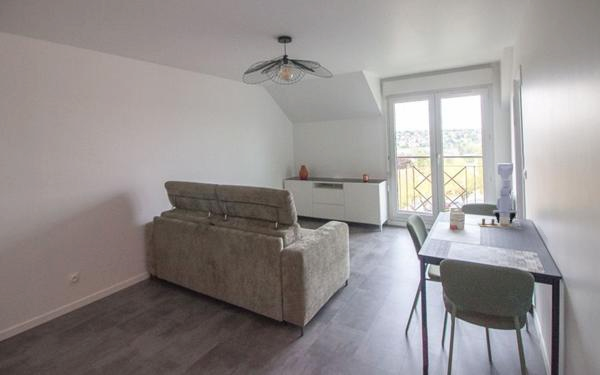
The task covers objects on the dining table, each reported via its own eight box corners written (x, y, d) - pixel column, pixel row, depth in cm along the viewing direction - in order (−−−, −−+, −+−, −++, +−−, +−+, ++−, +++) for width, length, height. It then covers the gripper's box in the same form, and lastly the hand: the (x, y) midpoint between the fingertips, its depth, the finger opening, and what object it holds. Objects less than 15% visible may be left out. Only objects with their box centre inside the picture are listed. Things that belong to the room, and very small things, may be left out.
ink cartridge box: (452, 229, 230) (452, 209, 229) (449, 227, 235) (449, 207, 233) (464, 229, 230) (465, 209, 228) (461, 227, 234) (462, 207, 233)
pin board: (477, 223, 243) (477, 217, 243) (495, 224, 239) (496, 217, 239) (480, 227, 234) (480, 220, 233) (499, 227, 230) (499, 220, 229)
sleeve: (498, 224, 238) (498, 217, 237) (504, 223, 239) (505, 217, 238) (503, 225, 233) (504, 219, 232) (510, 225, 234) (510, 218, 233)
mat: (495, 223, 242) (495, 222, 242) (509, 223, 239) (509, 223, 239) (498, 226, 234) (498, 225, 234) (513, 226, 231) (513, 226, 231)
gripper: (495, 205, 233) (494, 224, 234) (518, 205, 228) (517, 224, 230) (492, 203, 239) (492, 221, 241) (515, 204, 235) (514, 222, 236)
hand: (504, 223), depth 236 cm, fingers open, 7 cm apart
